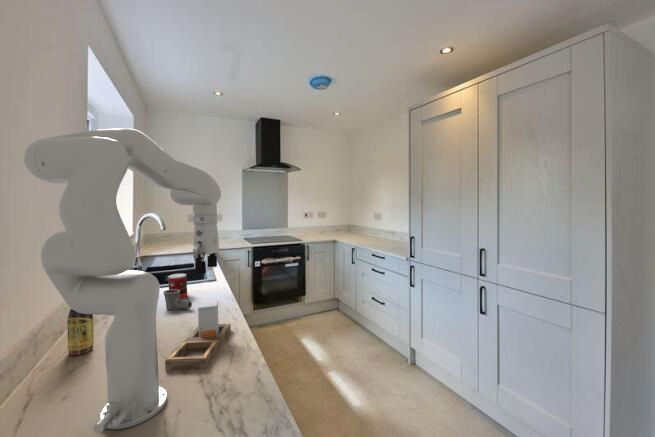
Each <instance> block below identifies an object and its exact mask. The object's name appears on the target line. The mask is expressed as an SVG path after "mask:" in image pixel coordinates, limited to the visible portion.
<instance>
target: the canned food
mask: <svg viewBox="0 0 655 437" xmlns="http://www.w3.org/2000/svg"><path fill="white" fill-rule="evenodd" d="M187 278H188V277H187V273H173V274H171V275H168V277H167V279H168V290H173V289H175V290H180V297H179V300H182V299H185V298H187V296H188V282H187V281H188V280H187ZM184 297H185V298H184ZM181 298H182V299H181Z"/></svg>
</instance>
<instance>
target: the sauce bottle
mask: <svg viewBox="0 0 655 437" xmlns="http://www.w3.org/2000/svg"><path fill="white" fill-rule="evenodd" d="M66 319H67V322H66V323H67V326H66V327H67V351H68V355H71V356H78V355H79V356H80V355H84V354H86V353H88V352H90V351H92V350H93V348H94V344H95V339H94V338H95V334H94V332H95V330H94V327H95V326H94V314H83V313H79V312H76V311H74V310H73V309H72V308H70V310H69V312H68V316H67V318H66Z"/></svg>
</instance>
